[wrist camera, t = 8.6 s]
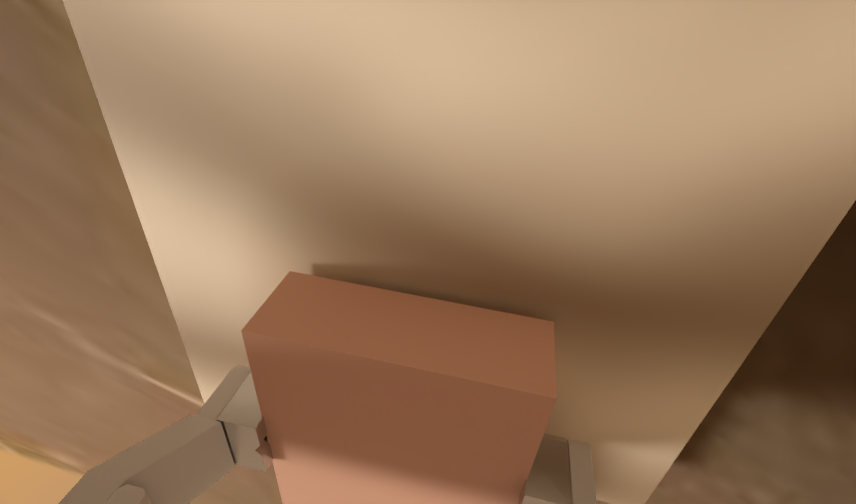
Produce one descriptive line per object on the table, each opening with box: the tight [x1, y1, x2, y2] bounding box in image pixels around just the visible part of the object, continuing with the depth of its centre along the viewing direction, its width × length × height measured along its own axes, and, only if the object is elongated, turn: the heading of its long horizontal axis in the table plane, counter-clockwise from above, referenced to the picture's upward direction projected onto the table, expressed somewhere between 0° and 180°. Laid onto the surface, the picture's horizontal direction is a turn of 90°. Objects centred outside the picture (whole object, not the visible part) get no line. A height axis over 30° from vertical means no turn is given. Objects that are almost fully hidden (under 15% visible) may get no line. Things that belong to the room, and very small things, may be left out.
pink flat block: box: [241, 271, 557, 504], centre depth 11 cm, size 7×6×2 cm
